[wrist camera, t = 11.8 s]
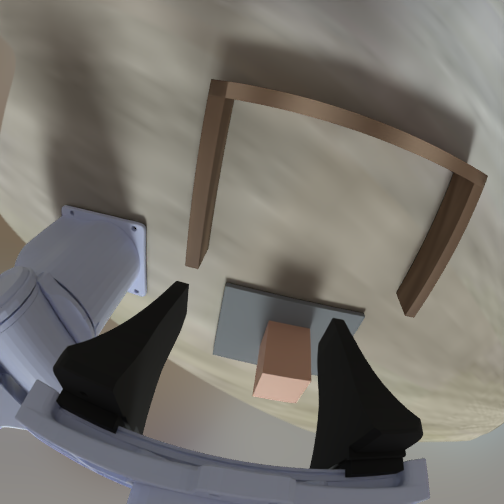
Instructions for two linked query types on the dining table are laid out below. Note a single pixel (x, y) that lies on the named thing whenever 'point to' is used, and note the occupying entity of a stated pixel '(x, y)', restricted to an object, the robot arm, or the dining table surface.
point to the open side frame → (463, 180)
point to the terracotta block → (283, 363)
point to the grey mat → (274, 309)
